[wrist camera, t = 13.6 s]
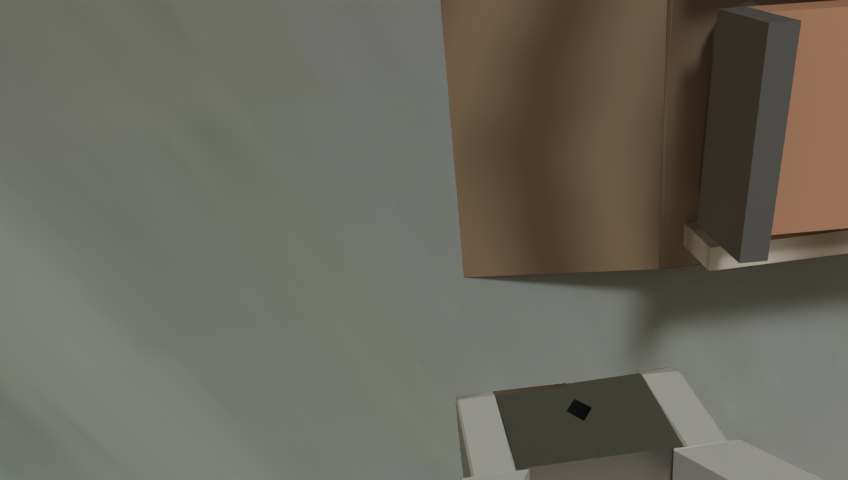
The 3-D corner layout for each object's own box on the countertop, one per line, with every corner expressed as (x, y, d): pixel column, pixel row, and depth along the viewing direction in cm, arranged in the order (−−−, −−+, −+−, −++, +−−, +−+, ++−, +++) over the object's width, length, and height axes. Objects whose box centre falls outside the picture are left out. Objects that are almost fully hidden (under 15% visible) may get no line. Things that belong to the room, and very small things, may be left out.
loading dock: (980, -156, 29) (1099, -167, 24) (915, 209, 35) (1000, 255, 31) (428, -96, 28) (443, -97, 24) (459, 267, 34) (476, 323, 30)
